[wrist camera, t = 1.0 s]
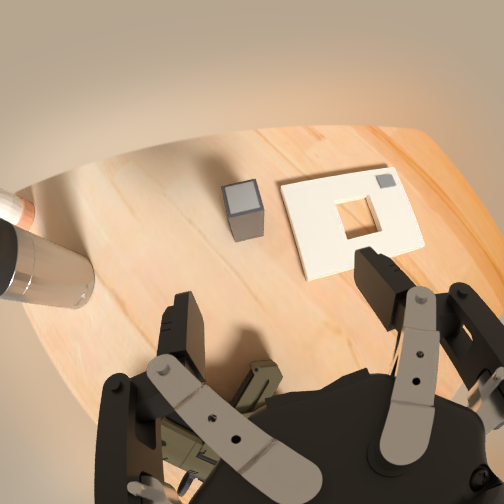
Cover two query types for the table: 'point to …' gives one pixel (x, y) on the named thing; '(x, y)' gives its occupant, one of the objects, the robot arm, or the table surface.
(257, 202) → the grey rectangular peg
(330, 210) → the plate
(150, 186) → the table surface
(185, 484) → the futuristic firearm
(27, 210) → the pepper shaker
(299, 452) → the robot arm
